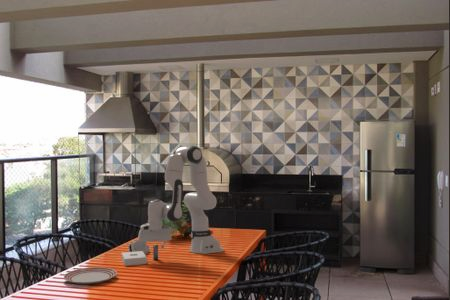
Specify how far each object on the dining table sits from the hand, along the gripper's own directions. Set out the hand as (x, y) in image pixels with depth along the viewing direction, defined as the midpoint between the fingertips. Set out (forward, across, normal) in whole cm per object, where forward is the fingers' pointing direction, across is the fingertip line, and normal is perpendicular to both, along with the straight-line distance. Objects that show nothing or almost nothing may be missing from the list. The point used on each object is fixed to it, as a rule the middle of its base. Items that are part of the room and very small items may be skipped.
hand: (154, 248), depth 306 cm
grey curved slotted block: (+7, +7, -20) cm, 23 cm away
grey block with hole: (+7, +13, 0) cm, 15 cm away
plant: (+6, -26, -65) cm, 71 cm away
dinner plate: (+9, +39, +32) cm, 52 cm away
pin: (+7, -1, 0) cm, 7 cm away
